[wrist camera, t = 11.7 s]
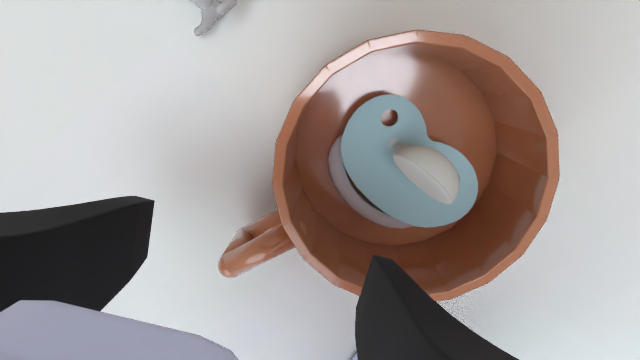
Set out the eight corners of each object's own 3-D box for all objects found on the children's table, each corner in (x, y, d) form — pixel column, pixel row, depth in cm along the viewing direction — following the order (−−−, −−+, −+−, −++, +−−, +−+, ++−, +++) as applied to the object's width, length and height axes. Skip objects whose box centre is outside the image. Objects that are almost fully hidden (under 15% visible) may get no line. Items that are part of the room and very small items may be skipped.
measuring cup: (447, -3, 18) (490, -33, 13) (533, 193, 21) (600, 234, 16) (188, 149, 21) (138, 174, 16) (292, 307, 23) (278, 375, 18)
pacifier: (397, 245, 22) (480, 173, 20) (415, 315, 16) (536, 220, 14) (303, 158, 21) (383, 75, 19) (285, 197, 15) (400, 81, 13)
